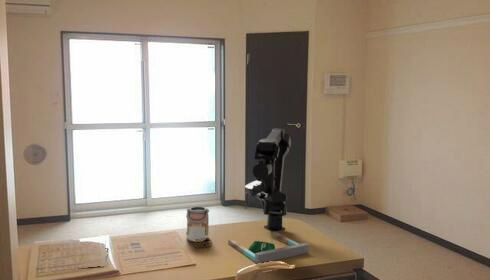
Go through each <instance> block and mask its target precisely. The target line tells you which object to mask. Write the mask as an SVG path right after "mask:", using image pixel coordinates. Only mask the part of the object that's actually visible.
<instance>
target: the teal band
mask: <svg viewBox="0 0 490 280" xmlns="http://www.w3.org/2000/svg"><path fill="white" fill-rule="evenodd" d="M297 244H299V242H296V241H294V240H292V239H291V240H289V241H288V244H287V246H288V245H289V246H292V245H297ZM248 249H249V248H246V249H243V253H242V254H243V255H244V256H246V257H247V258H248V259H250V260H252V261H253V262H255V252H254V253H252V252H251V251H249V250H248Z"/></svg>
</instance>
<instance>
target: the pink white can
mask: <svg viewBox="0 0 490 280" xmlns="http://www.w3.org/2000/svg"><path fill="white" fill-rule="evenodd" d="M209 212H210V209H209V208H206V207H204V206H192V207H188V208H187V209H186V224H187V225H186V229H187V231H186V238H187V240H188V241H189V242H191V241H192V240H193V239H204V238H207V237H208V238H209Z"/></svg>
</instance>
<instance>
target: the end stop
mask: <svg viewBox="0 0 490 280" xmlns="http://www.w3.org/2000/svg"><path fill="white" fill-rule="evenodd" d="M254 254H255V261H254V262H255V263H256V264H257V263H260V262H264V263H267V262H266V261H269V262H272V261H277V260H283V259H285V258H291V257H295V256H299V255H304V254H309V244H308V243H306V242H303V243H298V244H297V245H292V246H290V245H289V246H288V245H287V246H283V247H278V248H275V249H273V250H268V251H263V252H258V251H257V252H254ZM260 264H261V263H260Z"/></svg>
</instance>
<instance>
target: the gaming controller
mask: <svg viewBox="0 0 490 280" xmlns="http://www.w3.org/2000/svg"><path fill="white" fill-rule="evenodd" d="M247 249H248V250H249V251H251V252H252V253H254V254H255V253H256V252H257V253H258V252H263V251H268V250H273V249H276V246H275V243H274V242H273V241H272V240H271V241H270V242H267V241H261V240H258V239H257V238H256V239H254V241H253V243H251V245H249V247H248V248H247Z"/></svg>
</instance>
